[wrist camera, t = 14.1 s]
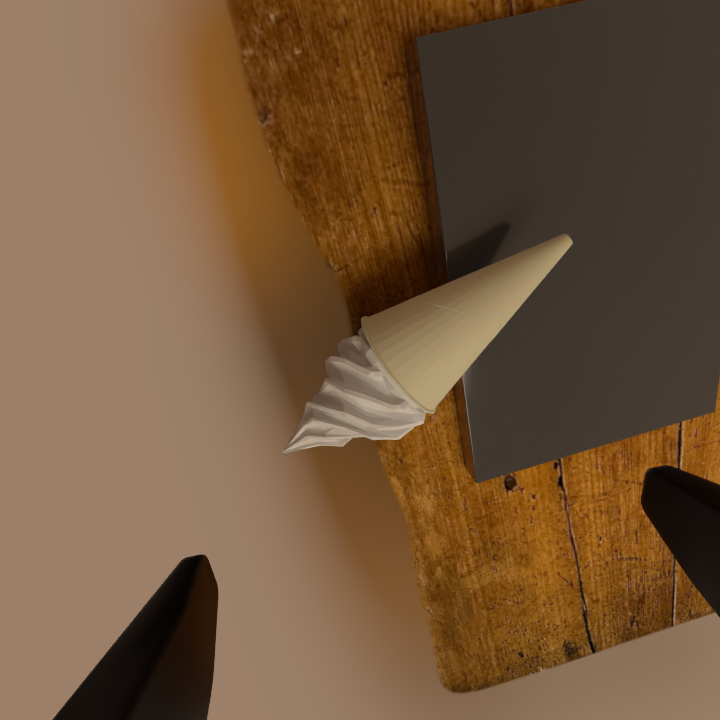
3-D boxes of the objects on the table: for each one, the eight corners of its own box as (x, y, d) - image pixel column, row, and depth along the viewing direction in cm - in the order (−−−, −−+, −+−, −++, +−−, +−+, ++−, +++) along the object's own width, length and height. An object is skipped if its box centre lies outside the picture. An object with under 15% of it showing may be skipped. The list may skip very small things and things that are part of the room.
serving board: (465, 467, 25) (476, 484, 24) (403, 47, 17) (415, 36, 16) (692, 399, 26) (715, 412, 25) (736, -26, 18) (774, -42, 17)
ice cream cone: (617, 310, 18) (332, 501, 22) (539, 229, 20) (296, 414, 24) (612, 251, 14) (261, 501, 18) (515, 158, 16) (226, 396, 20)
